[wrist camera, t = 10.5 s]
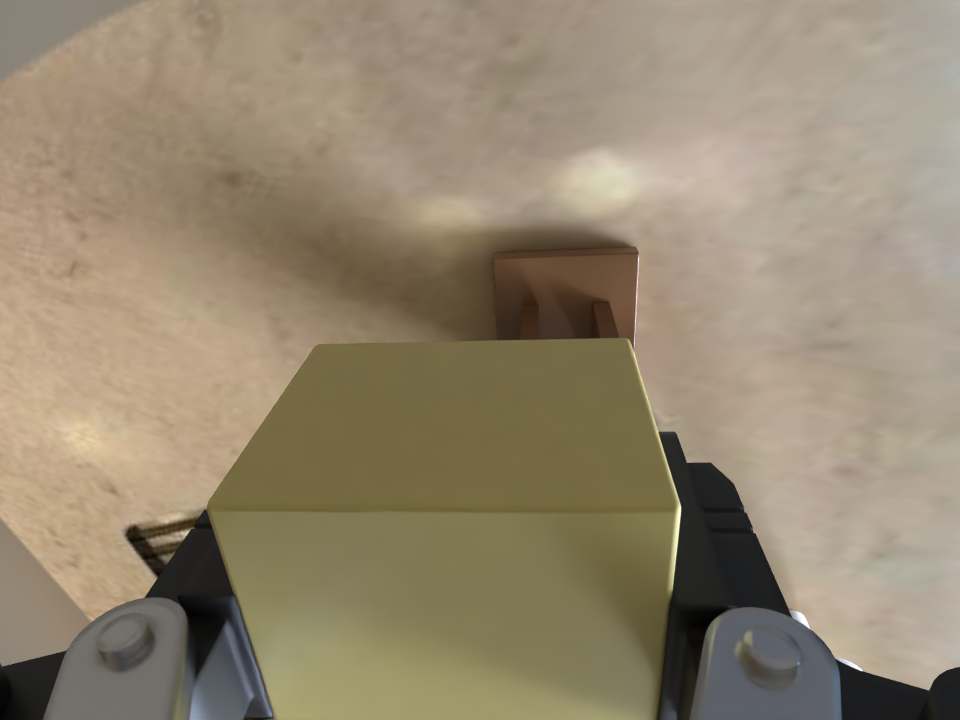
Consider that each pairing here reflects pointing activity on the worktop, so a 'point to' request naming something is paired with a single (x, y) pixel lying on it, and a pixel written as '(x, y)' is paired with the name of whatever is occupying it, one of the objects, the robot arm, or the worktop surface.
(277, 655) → the butter
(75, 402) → the worktop surface
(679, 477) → the robot arm
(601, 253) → the wooden stand
